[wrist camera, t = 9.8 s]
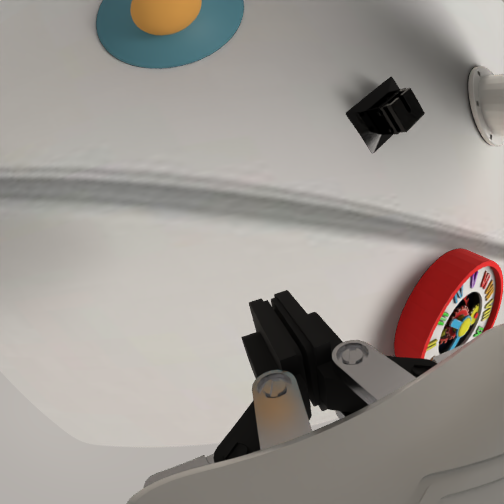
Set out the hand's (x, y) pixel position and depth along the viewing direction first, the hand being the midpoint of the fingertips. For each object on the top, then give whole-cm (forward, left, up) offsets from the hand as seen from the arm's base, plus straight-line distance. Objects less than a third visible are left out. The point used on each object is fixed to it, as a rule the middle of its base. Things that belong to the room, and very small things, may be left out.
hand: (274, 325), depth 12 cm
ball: (0, -21, -11) cm, 23 cm away
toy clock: (-28, +20, -14) cm, 37 cm away
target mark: (0, -22, -13) cm, 26 cm away
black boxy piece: (-18, -9, -14) cm, 25 cm away
